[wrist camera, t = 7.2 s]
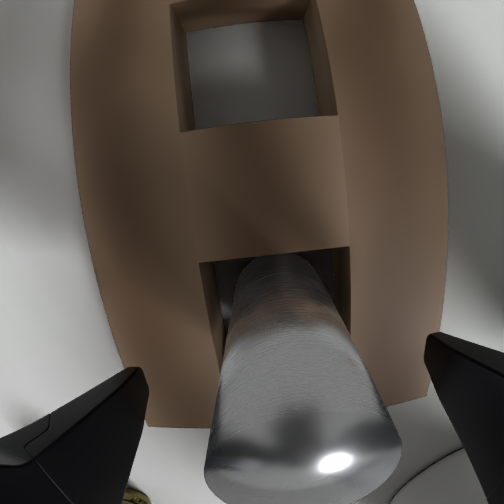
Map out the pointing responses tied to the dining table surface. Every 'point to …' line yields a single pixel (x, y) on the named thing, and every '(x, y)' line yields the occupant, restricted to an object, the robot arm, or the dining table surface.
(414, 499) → the cylinder vase
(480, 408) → the robot arm
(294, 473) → the lock pin
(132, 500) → the cup
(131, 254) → the mount block
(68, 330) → the dining table surface
